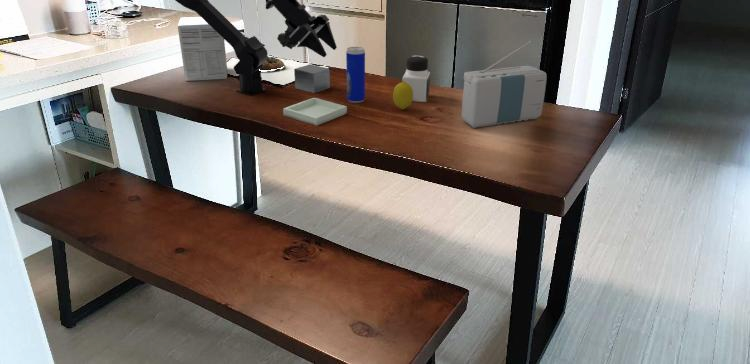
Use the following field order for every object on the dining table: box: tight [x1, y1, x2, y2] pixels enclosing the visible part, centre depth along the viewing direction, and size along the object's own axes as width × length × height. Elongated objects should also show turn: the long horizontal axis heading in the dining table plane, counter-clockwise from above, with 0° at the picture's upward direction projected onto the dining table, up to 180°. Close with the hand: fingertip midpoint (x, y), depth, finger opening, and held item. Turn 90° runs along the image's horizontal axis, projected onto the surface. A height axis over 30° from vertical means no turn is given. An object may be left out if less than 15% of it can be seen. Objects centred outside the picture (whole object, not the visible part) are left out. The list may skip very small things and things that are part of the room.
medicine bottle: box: [402, 55, 431, 103], centre depth 162 cm, size 7×7×12 cm
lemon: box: [392, 80, 413, 110], centre depth 154 cm, size 6×6×8 cm
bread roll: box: [260, 56, 286, 70], centre depth 192 cm, size 11×11×5 cm
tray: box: [282, 97, 348, 127], centre depth 151 cm, size 12×12×2 cm
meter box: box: [293, 63, 331, 94], centre depth 172 cm, size 8×7×6 cm
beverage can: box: [345, 46, 366, 104], centre depth 159 cm, size 5×5×15 cm
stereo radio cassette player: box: [461, 40, 547, 129], centre depth 144 cm, size 21×8×20 cm, turn 112°
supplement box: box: [177, 16, 228, 82], centre depth 181 cm, size 13×13×18 cm
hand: (330, 52), depth 158 cm, fingers open, 9 cm apart
